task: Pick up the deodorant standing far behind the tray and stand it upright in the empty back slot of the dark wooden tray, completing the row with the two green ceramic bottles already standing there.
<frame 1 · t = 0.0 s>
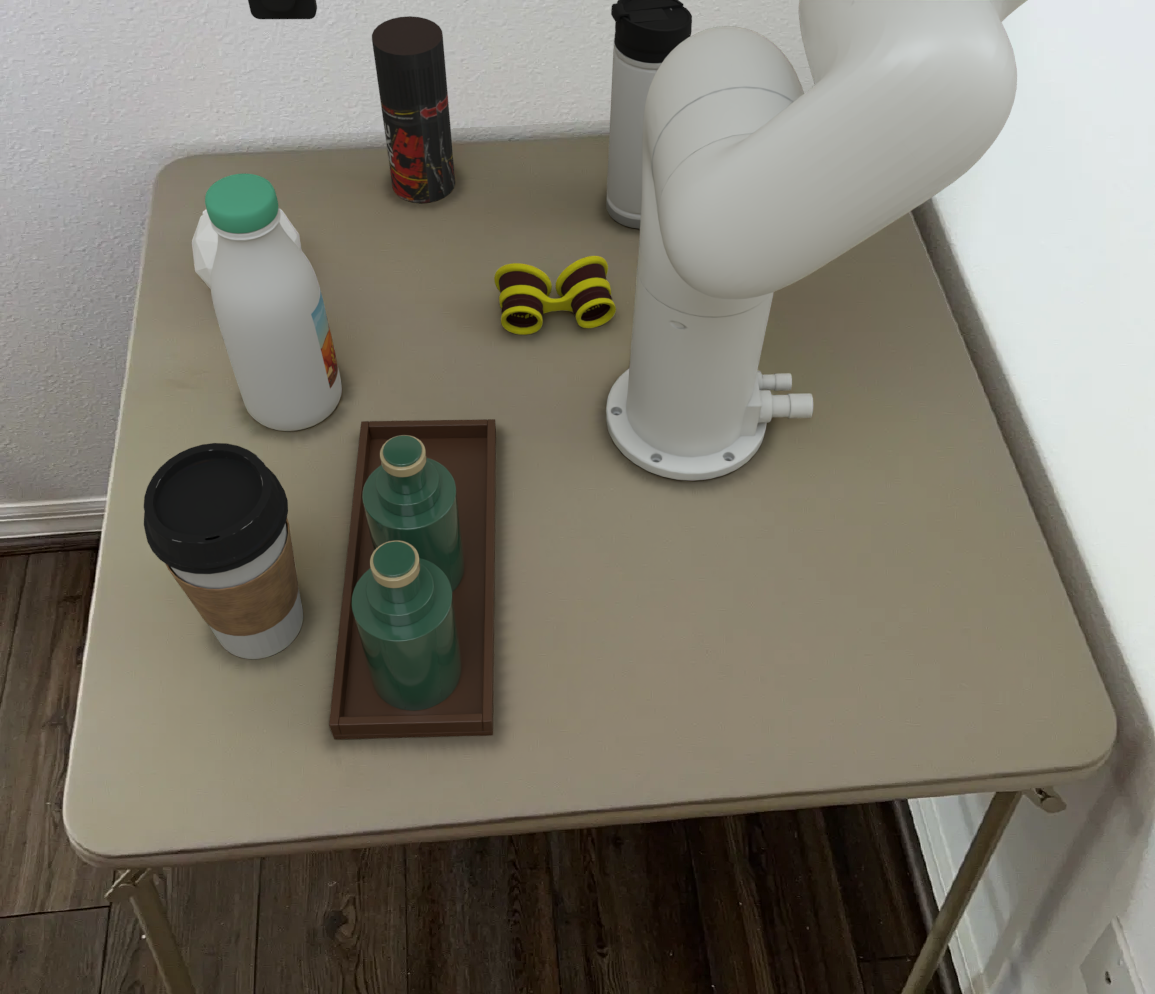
deodorant: (423, 184, 107), on the table
travel mug: (637, 210, 105), on the table
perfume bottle: (259, 281, 98), on the table
bottle middle: (422, 568, 80), resting on tray
milk bottle: (295, 399, 90), on the table
coffee cup: (260, 623, 78), on the table
tray: (422, 573, 80), on the table
opera glasses: (555, 317, 96), on the table
bottle front: (416, 669, 75), resting on tray
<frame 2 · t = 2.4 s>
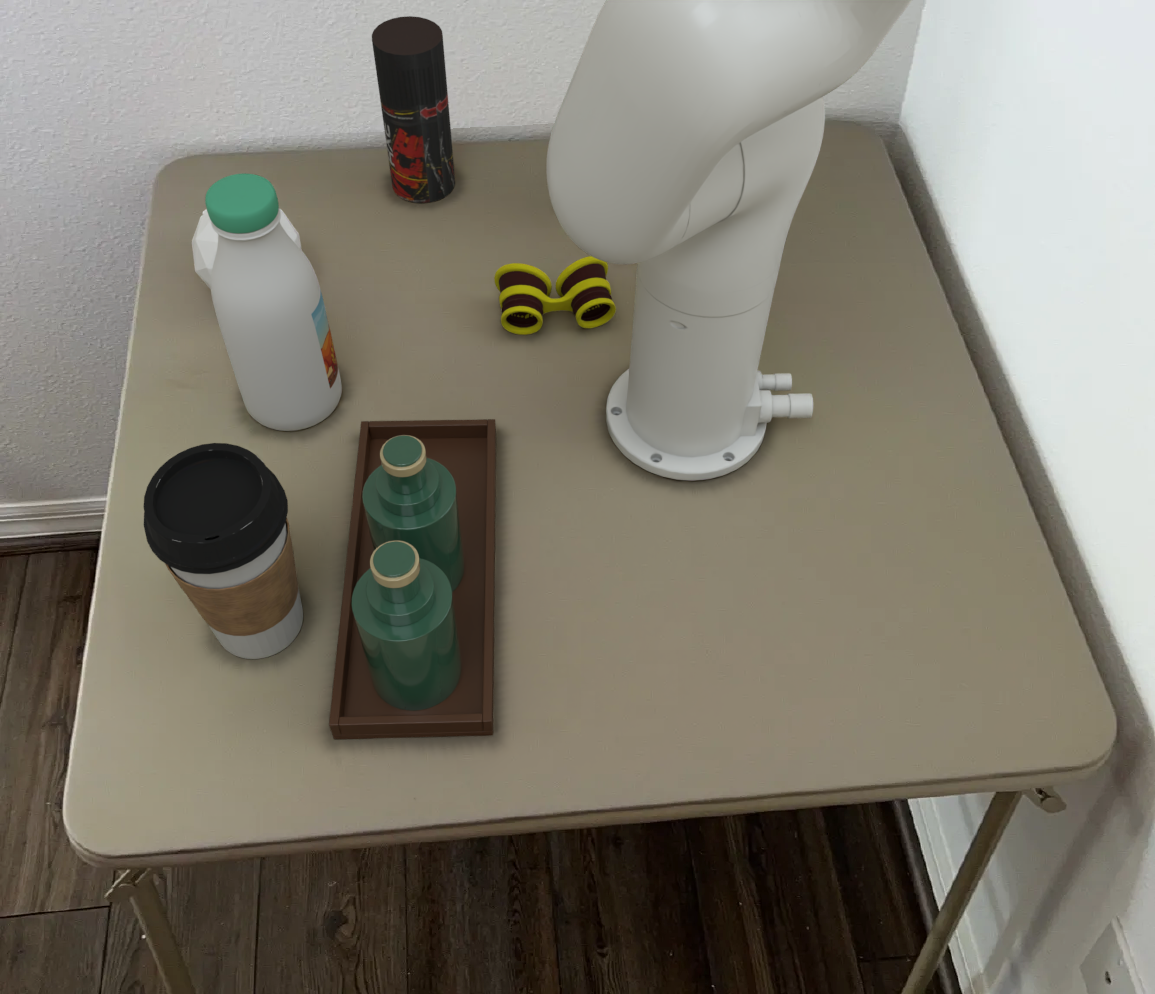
nothing on the table moved.
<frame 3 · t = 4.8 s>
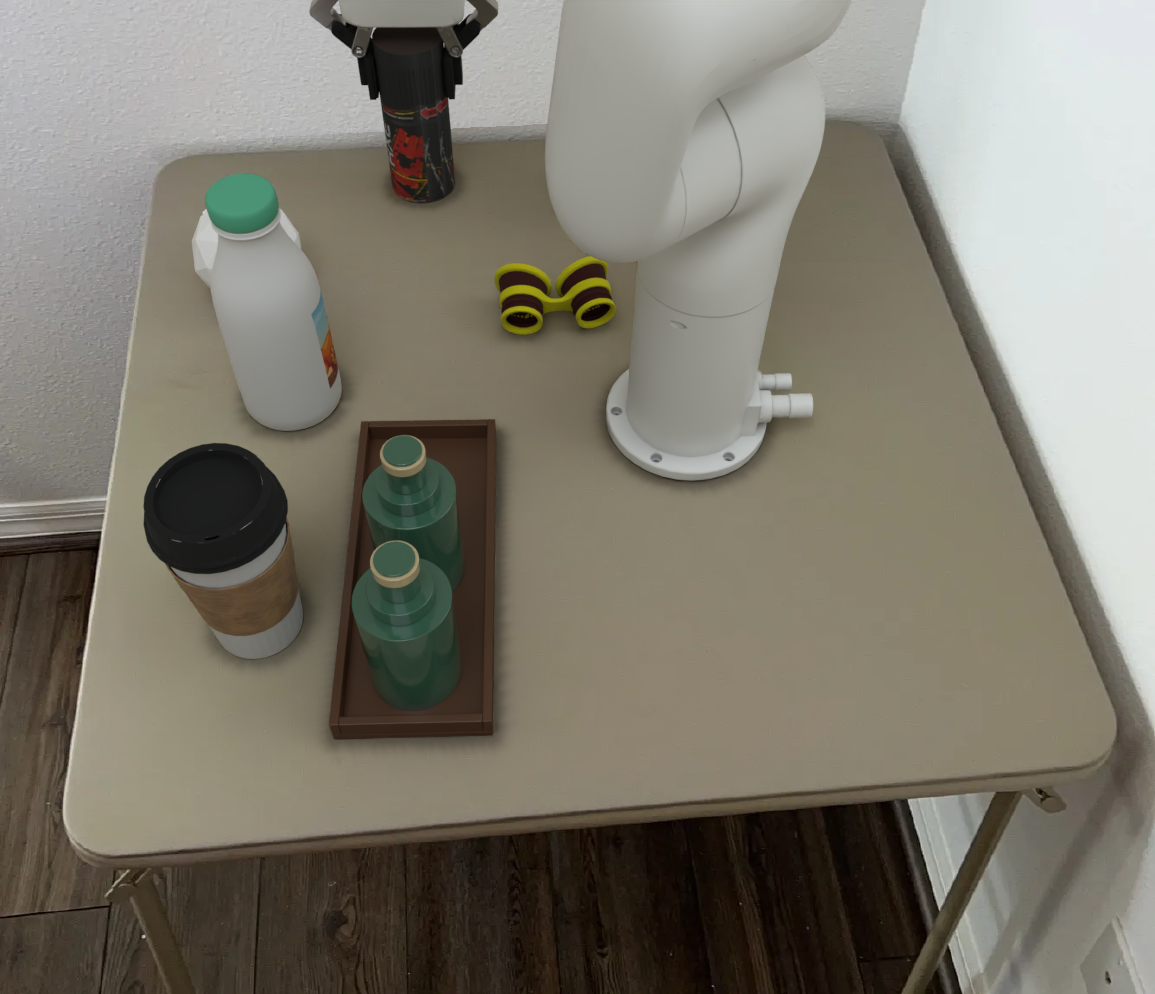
hand: (413, 89, 99), 10 cm above the table, tool pointing down, fingers closed on deodorant, 6 cm apart
deodorant: (423, 184, 107), on the table, touching gripper
everything else where it was.
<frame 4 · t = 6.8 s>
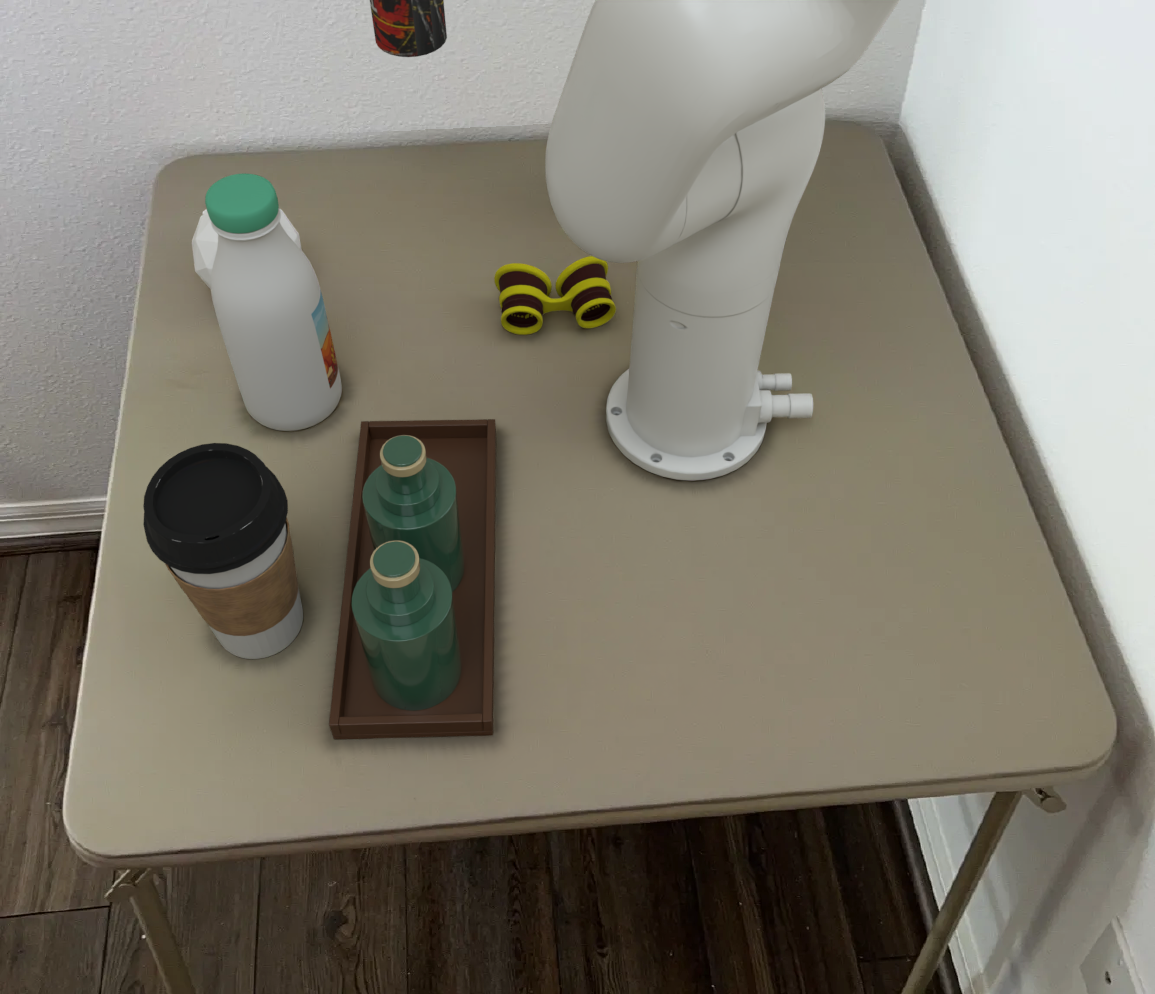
deodorant: (411, 40, 94), point 15 cm above the table, touching gripper
everything else where it was.
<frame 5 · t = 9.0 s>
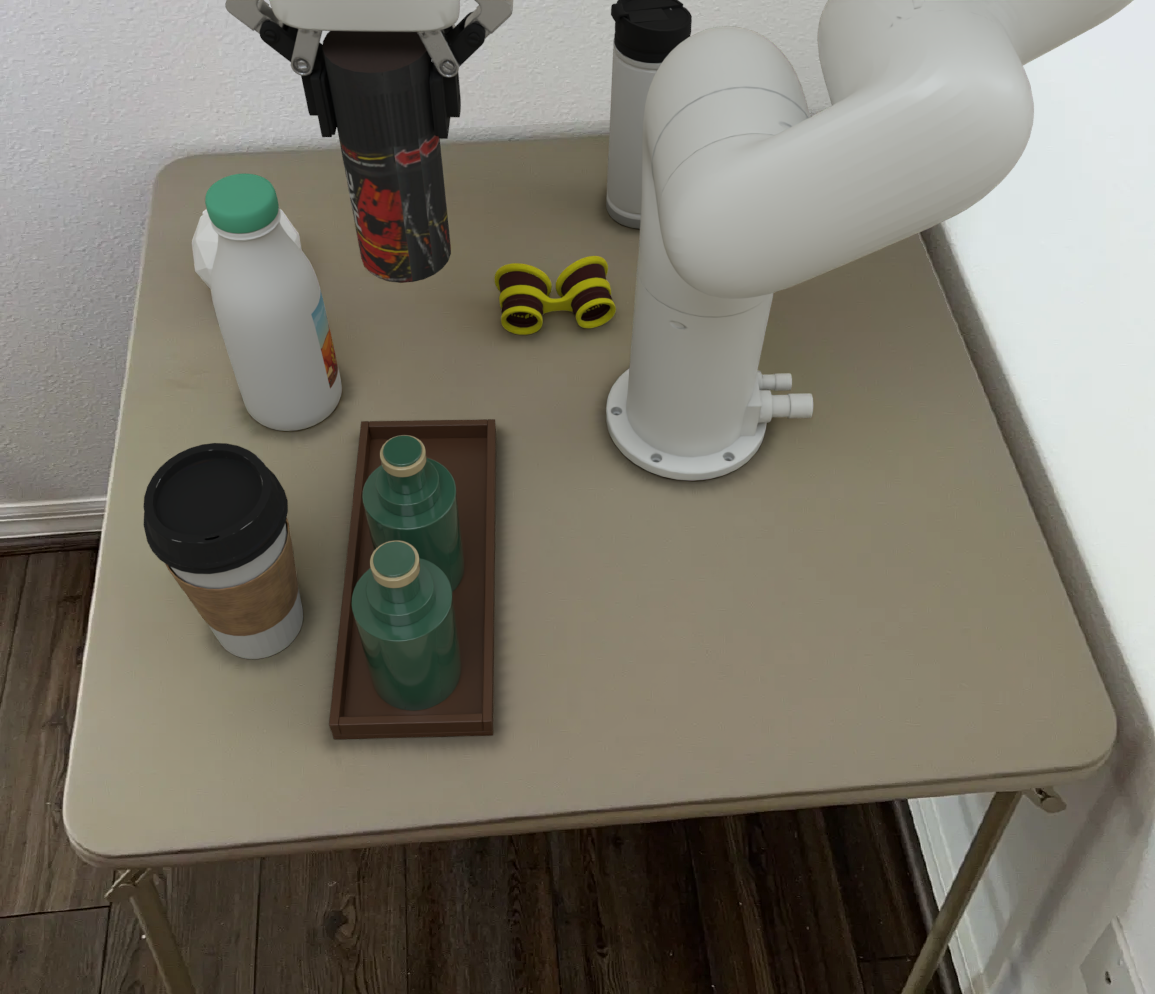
hand: (387, 121, 67), 27 cm above the table, tool pointing down, fingers closed on deodorant, 6 cm apart
deodorant: (406, 254, 75), point 17 cm above the table, touching gripper
everything else where it was.
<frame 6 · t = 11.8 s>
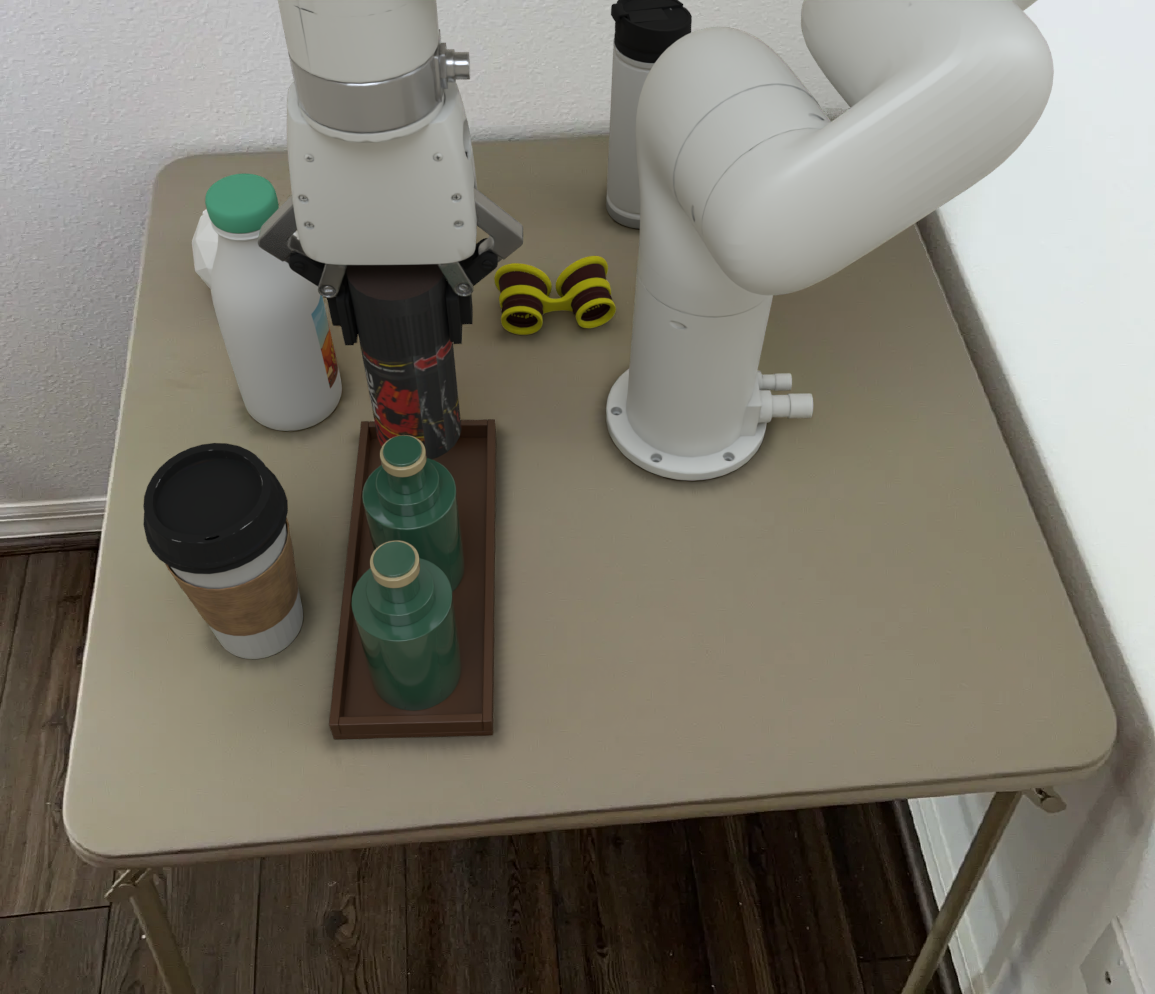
hand: (404, 327, 72), 16 cm above the table, tool pointing down, fingers closed on deodorant, 6 cm apart
deodorant: (419, 431, 80), point 6 cm above the table, touching gripper
everything else where it was.
when the fingers open (11 cm above the table, at t = 13.7 s): deodorant stays where it is, resting on tray.
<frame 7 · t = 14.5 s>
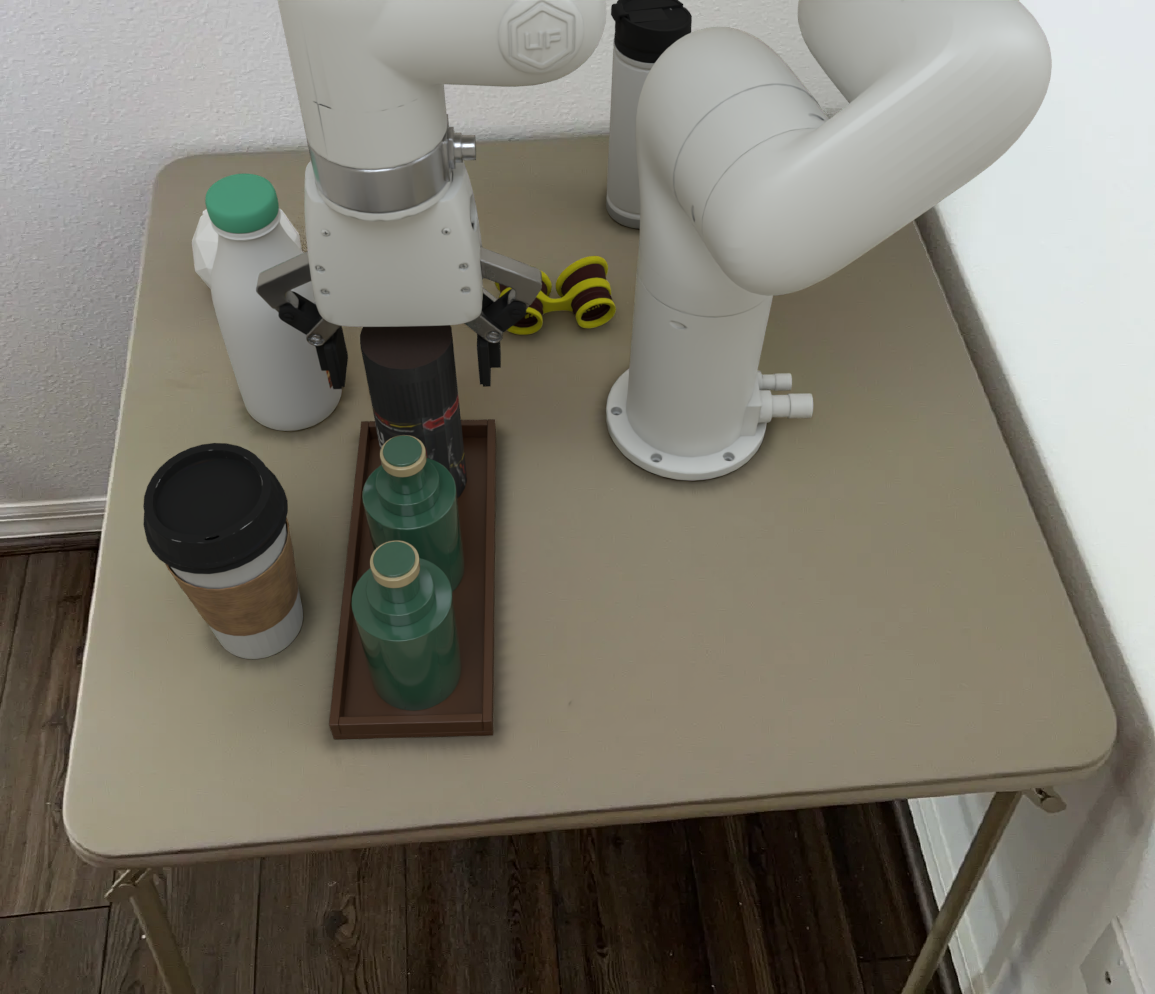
hand: (413, 372, 75), 12 cm above the table, tool pointing down, fingers open, 9 cm apart
deodorant: (427, 481, 85), resting on tray
everything else where it was.
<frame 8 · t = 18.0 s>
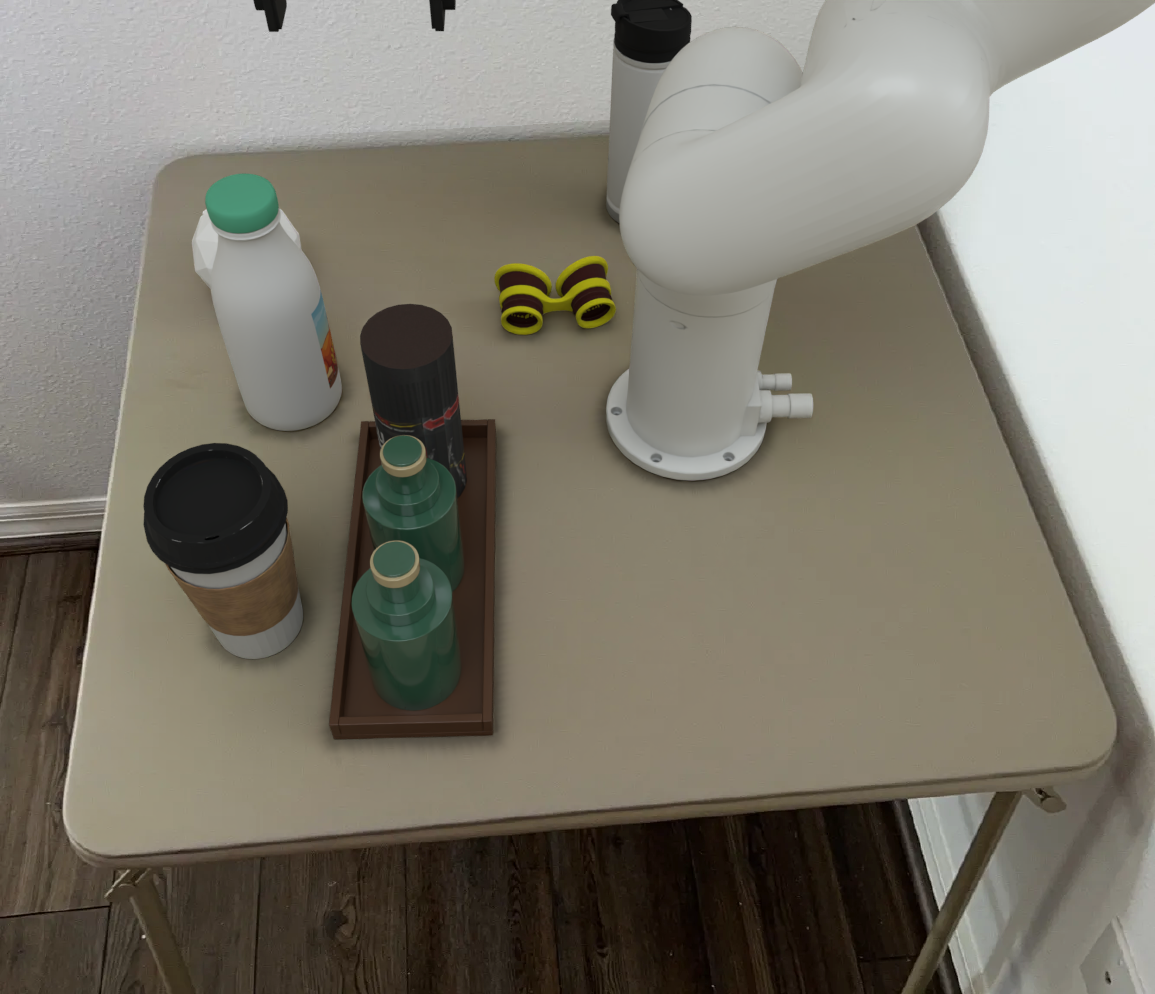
hand: (359, 19, 68), 30 cm above the table, tool pointing down, fingers open, 9 cm apart
nothing on the table moved.
at the end: deodorant 0.0 cm from the target spot in the tray, point 0.4 cm above the tray's base; deodorant tilted 0°; the gripper is holding nothing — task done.
